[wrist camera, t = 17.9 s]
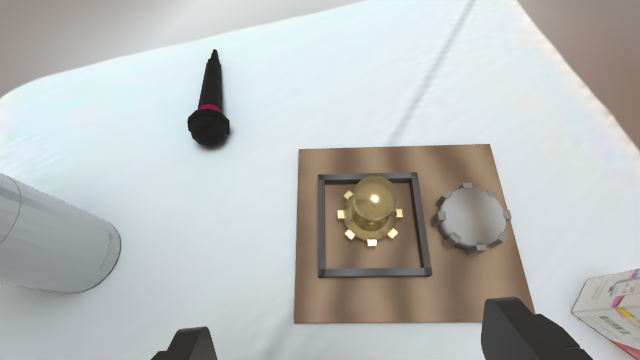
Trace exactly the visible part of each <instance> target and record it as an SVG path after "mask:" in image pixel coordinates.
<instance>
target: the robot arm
mask: <svg viewBox="0 0 640 360" xmlns="http://www.w3.org/2000/svg"><path fill="white" fill-rule="evenodd" d="M119 252H120V238H119V234H118V232H117V231H116V229H115V228H114V227H113V226H112V225H111V224H110V223H108V222H106V221H103V220H101V219H99V218H97V217H95V216H93V215H91V214H89V213H87V212H85V211H82V210H80V209H78V208H76V207H74V206H72V205H69V204H67V203H65V202H63V201H61V200H59V199H56V198H54V197H52V196H50V195H48V194H45V193H43V192H41V191H39V190H37V189H35V188H32V187H30V186H28V185H26V184H24V183H22V182H19V181H17V180H15V179H13V178H11V177H9V176H6V175H4V174H2V173H0V284H4V285H12V286H20V287H27V288H35V289H41V290H49V291H57V292H65V293H77V292H82V291H85V290H87V289H90V288H92V287H93V286H95V285H97V284H98V283H100V282H101V281H102V280H103V279H104V278H105V277H106V276H107V275H108V274H109V272H110V271H111V270H112V269H113V267H114V265H115V263H116V261H117V259H118V256H119ZM481 346H482V350H483V354H484V356H485V359H486V360H593V359H592V358H591V357H590V356H589V355H588V354H587V353H586V352H585V351H584V350H583V349H581V348H580V345H579V344H578V343H577V342H576V341H575V340H574V339H573V338H572V337H571V336H570V335H569V334H568V333H567V332H566V331H565V330H564V329H563V328H562V327H560V326H559V325H557V324H556V323H554V322H553V321H551V320H550V319H548V318H546V317H545V316H543V315H542V314H533V313H532V312H531V311H530V310H529V309H528V308H527V307H526V306H525V304H524V303H523V302H522V301H521V300H520V299H519V298H517V297H515V296H511V297H501V298H491V299H487V300H486V301H485V304H484V313H483V323H482V333H481ZM151 360H217V356H216V353H215V349H214V345H213V342H212V338H211V335H210V331H209V329H208V328H207V327H196V328H186V329H179V330H178V331H177V332H176V334H175V336H174V338H173V340H172V342H171V344H170V346H169V348H168V350H167V351H159V352H157V354H156V355H155V356H154V357H153V358H152V359H151Z"/></svg>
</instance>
